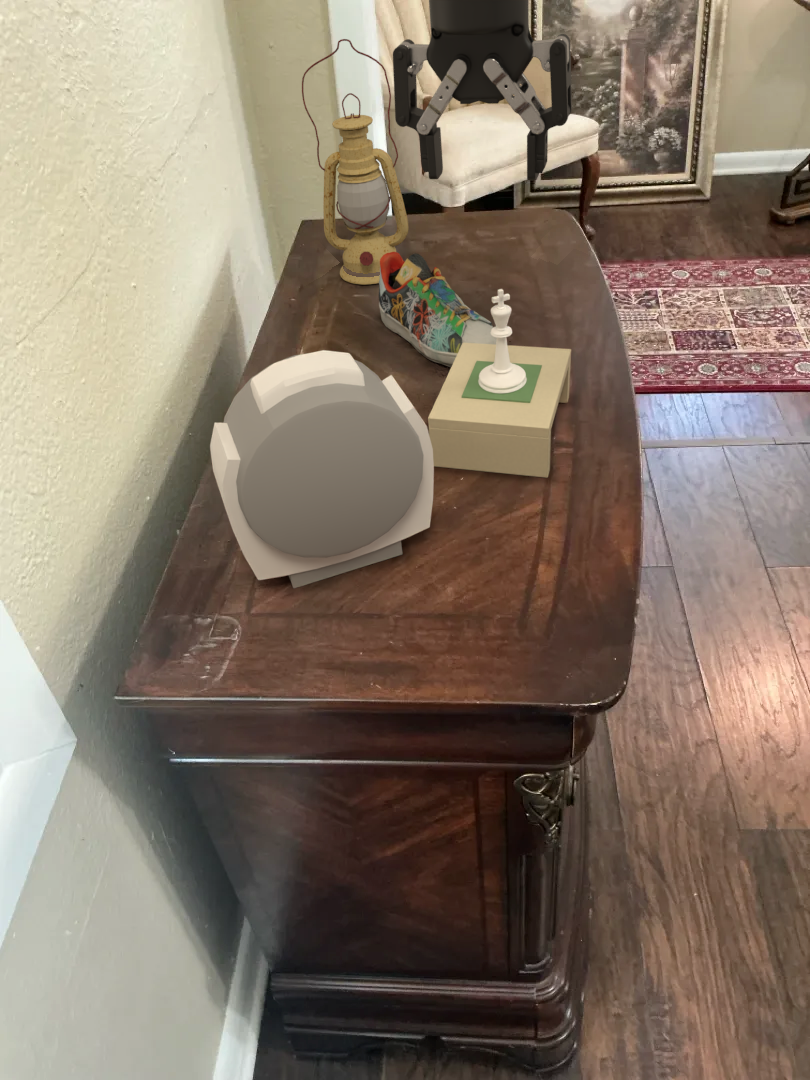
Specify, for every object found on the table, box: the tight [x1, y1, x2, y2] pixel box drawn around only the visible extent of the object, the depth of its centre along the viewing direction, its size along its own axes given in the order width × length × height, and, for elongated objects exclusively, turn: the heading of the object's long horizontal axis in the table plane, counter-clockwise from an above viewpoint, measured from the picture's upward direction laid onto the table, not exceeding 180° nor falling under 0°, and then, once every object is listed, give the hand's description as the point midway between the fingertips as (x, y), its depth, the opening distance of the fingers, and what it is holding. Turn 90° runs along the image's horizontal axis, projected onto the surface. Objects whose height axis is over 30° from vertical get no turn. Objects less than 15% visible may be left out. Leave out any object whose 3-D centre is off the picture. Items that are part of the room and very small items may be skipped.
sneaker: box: [378, 251, 497, 368], centre depth 105 cm, size 8×21×10 cm, turn 38°
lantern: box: [301, 38, 409, 285], centre depth 115 cm, size 12×10×30 cm
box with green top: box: [427, 343, 572, 479], centre depth 91 cm, size 12×15×6 cm
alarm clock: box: [209, 349, 435, 589], centre depth 74 cm, size 18×8×20 cm, turn 110°
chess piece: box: [478, 288, 527, 394], centre depth 86 cm, size 5×5×10 cm
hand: (484, 176), depth 74 cm, fingers open, 8 cm apart
